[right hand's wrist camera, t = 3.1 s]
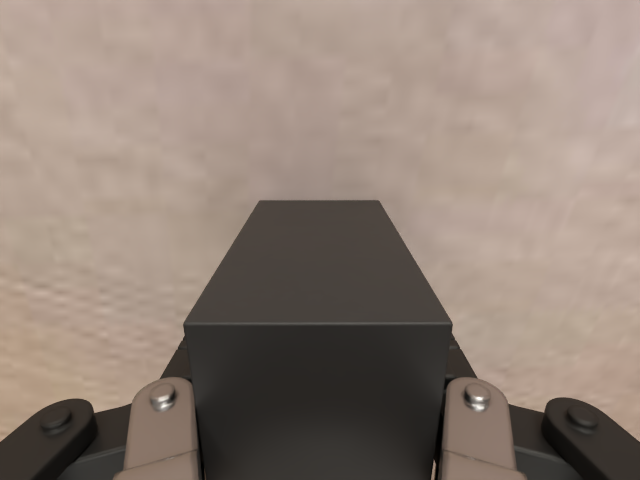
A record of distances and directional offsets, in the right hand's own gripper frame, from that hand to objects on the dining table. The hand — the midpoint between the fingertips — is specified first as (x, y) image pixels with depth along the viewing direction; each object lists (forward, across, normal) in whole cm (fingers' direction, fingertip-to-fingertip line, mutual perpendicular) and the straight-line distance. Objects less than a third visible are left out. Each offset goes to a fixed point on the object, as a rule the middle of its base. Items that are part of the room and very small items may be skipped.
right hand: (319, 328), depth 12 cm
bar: (+5, 0, -10) cm, 11 cm away
